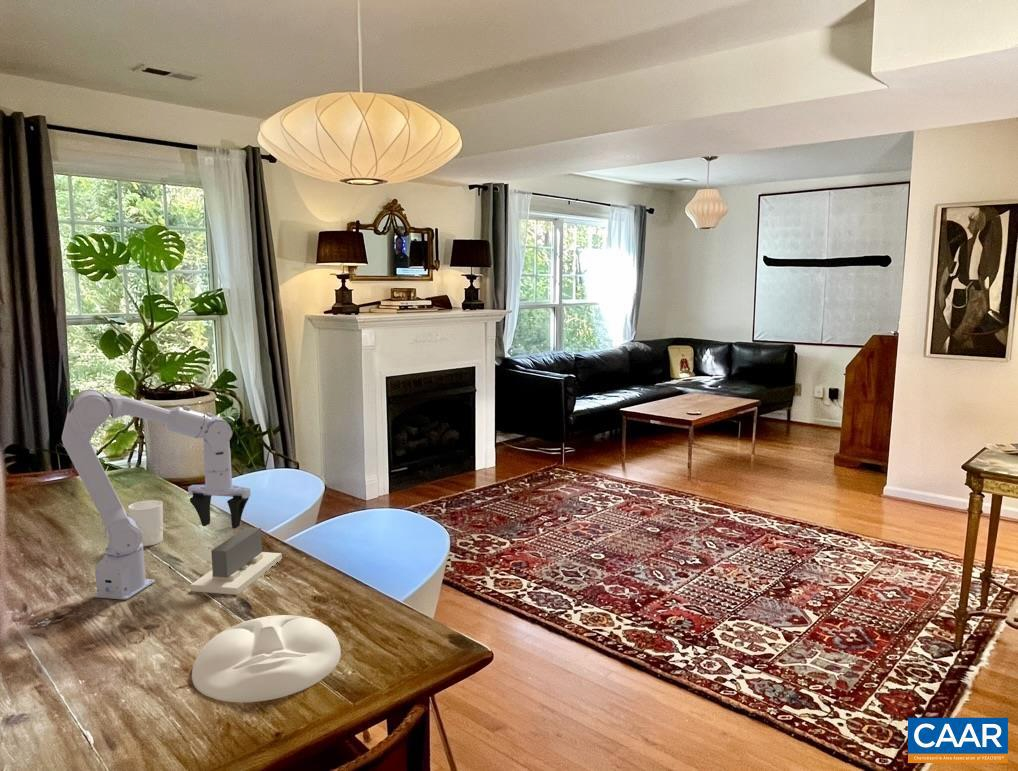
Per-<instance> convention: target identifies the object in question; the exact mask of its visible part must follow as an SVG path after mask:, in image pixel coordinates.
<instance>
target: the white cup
mask: <svg viewBox="0 0 1018 771" xmlns="http://www.w3.org/2000/svg"><path fill="white" fill-rule="evenodd" d="M127 507H128V515H130V516H132V517H133V518H134V519H135V520H136V522H137V527H138V529H139V530H140V532H141V534H142V541H141V543H142V544H143V547H148V546H149V547H150V546H154V545H157V544H160V543H162V542H163V539H164V532H163V531H164V510H163V509H164V504H163V501H161V500H158V499H151V500H150V499H149V500H147V499H146V500H142V501H136V502H134V503H131V504H129V505H128V506H127Z"/></svg>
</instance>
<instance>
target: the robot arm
mask: <svg viewBox="0 0 1018 771" xmlns="http://www.w3.org/2000/svg"><path fill="white" fill-rule="evenodd" d="M110 416H111V418H112V419H113V420H115V419H118V418H121V417H125V416H130V417H133V418H140V419H143V420H148V421H151V422H152V421H153V422H156V423H161V424H164V425H165V427H166V428H167V430H168V431H169V432H171V433H174V434H175V433H176V434H178V435H183V436H186V437H190V438H195V439H203V451H202V452H203V466H204V468H203V469H204V484H191V485H190V486H188V487H187V491H188V496H192V497H190V498H189V502H190V504H191V505H192V506H193V508H194V509H195V511H196V512H197V515H198V517H199V520H200V523H201V526H202V527H206V526H208V525H211V502H212V496H217V497H229V498H230V497H232V498H230V499H228V500H227V501H226V502H227V505H228V507H229V512H230V520H231V521H230V522H231V528H232V529H237V528H239V527H240V526H241V521H242V516H243V512H244V509H245V507H246V505H247V503H248V500H249V498H250V497H251V488H250V487H243V486H239V485H235V484H234V485H233V479H232V478H233V476H232V458H231V456H232V455H231V454H232V453H231V448H230V440H231V438H232V437H233V430H232V427H231V425H230V424H229V423H228V422H227V421H226V420H225V419H223V418H221V417H220V416H217V415H216V414H212V413H210V412H205V413H202V412H199V411H197V410H196V411H195V410H192V409H191V407H190V406H189V405H183V406H176V407H174V408H171V409H167V408H163V407H160V406H157V405H155V404H151V403H148V402H145V401H142V400H138V399H136V398H132V397H129V396H126V395H122V394H117V393H113V392H107V391H103V393H102V392H101V391H99V390H97V389H96V390H95V389H84V390H82V391H80V392H78V393H77V394H76V395H75V396H74V398H73V399H72V401H71V402H70V404H69V405H68V407H67V413H66V417H65V421H64V426H63V430H62V434H61V441H62V445H63V447H64V449H65V451H66V452H67V455H68V456H69V459H70V460H71V462H72V465H73V467H74V468H75V470H76V472H77V473H78V475H79V478H80V479H81V481H82V484H83V486H84V487H85V489H86V491H87V493H88V495H89V497H90V498H91V500H92V503H93V505H94V506H95V508H96V510H97V512H98V514H99V517H100V518H101V520H102V523H103V524H104V527H105V528H104V534H105V536H106V538H107V540H108V541H107V542H108V545H107V546H106V547H105V553H104V556H103V557H102V559H101V560H100V561H98V562H97V564H96V566H95V569H94V574H95V584H96V586H95V587H96V593H95V594H94V595H93V598H101V599H112V600H114V599H115V600H123V601H124V600H129V599H130V598H132V597H133V596H135V595H136V594H139V593H140V592H141V591H142V590H144V589H146V588H147V587H149V586H150V585H153V584H154V583H155V582H156V580H155V579H151V578H146V568H145V566H146V565H145V554H144V553H145V552H144V546H143V544H142V543H141V541H142V534H141V532H140V530H139V529H138V527H137V522H136V520H135V519H134V518H133V517H132V516H130V515H129V513H128V512H127V511H126V510H125V508H124V506H123V503H121V500H120V498H119V497H118V494H117V493H116V491H115V489H114V487H113V484H112V483H111V482H112V481H110V478H109V476H108V475H107V473H106V470H105V469H104V466H103V465H102V463H101V461H100V460H99V457H98V455H97V454H96V451H95V449H94V447H93V445H92V443H91V440H92V438H93V436H94V435H95V433H96V430H97V429H98V428H99V427H100V426H101V425H103V424H104V423H105V422H106V421H107V420H108V418H109V417H110Z"/></svg>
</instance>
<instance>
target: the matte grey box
mask: <svg viewBox="0 0 1018 771" xmlns="http://www.w3.org/2000/svg"><path fill="white" fill-rule="evenodd" d="M262 540H263V539H262V528H261V527H251V526H247V527H245V528H244V529H243V530H241V531H239V532H238V533H236V534H235V535H233V536H231V537H230V538H229V539H226V541H223V542H222V543H221V544H219V545H218V546H216V547H214V548H213V549H211V550H210V553H211V566H212V569H211V570H213V577H225V578H228V577H229V576H231V575H232V574H233V573H235V572H236V571H237V570H239V569H240V568H241V567H243V566H244V565H245V564H247V563H248V562H250V561H251V560H252V559H254V558H255V557H256V556H258V555H259V554H260V553H262V552H263V541H262Z"/></svg>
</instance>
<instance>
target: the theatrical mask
mask: <svg viewBox="0 0 1018 771" xmlns="http://www.w3.org/2000/svg"><path fill="white" fill-rule="evenodd" d="M341 653H342V651H341V644H340V642H339V639H338V638H337V636H336V634H335V633H334V631H333V629H332V628H330V627H329V626H328V625H327V624H324V623H323V622H321V621H319V620H318V619H315V618H312V617H306V616H301V615H290V614H287V615H286V614H281V615H280V614H279V615H278V614H277V615H276V614H275V615H269V616H262V617H261V616H260V617H258V618H252V619H249V620H245V621H242V622H240V623H238V624H235V625H233V626H230V627H228V628H227V629H225V630H222V631H221V632H219V633H218V634H217V635H215V636H213V637H212V638H211V639H210V640H209V641H208V642H207V643H206V644H205V645H203V647H202V648H201V649H200V650H199V652H198V653H197V655H196V658H195V659H194V662H193V665H192V668H191V669H192V670H191V680H192V684H193V686H194V687H195V689H196V690H198V691H199V692H200V693H201V694H203V695H204V696H207V697H209V698H212V699H214V700H217V701H223V702H228V703H229V702H230V703H255V702H257V703H258V702H264V701H270V700H275V699H279V698H284V697H286V696H290V695H293V694H297V693H299V692H301V691H304V690H306V689H308V688H310V687H313V686H314V685H316V684H317V683H319V682H320V681H322V680H323V679H325V678H326V677H327V676H329V675H330V673H331V672H333V671H334V670H335V668H336V667H337V666H338V663H339V662H340V660H341Z"/></svg>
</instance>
